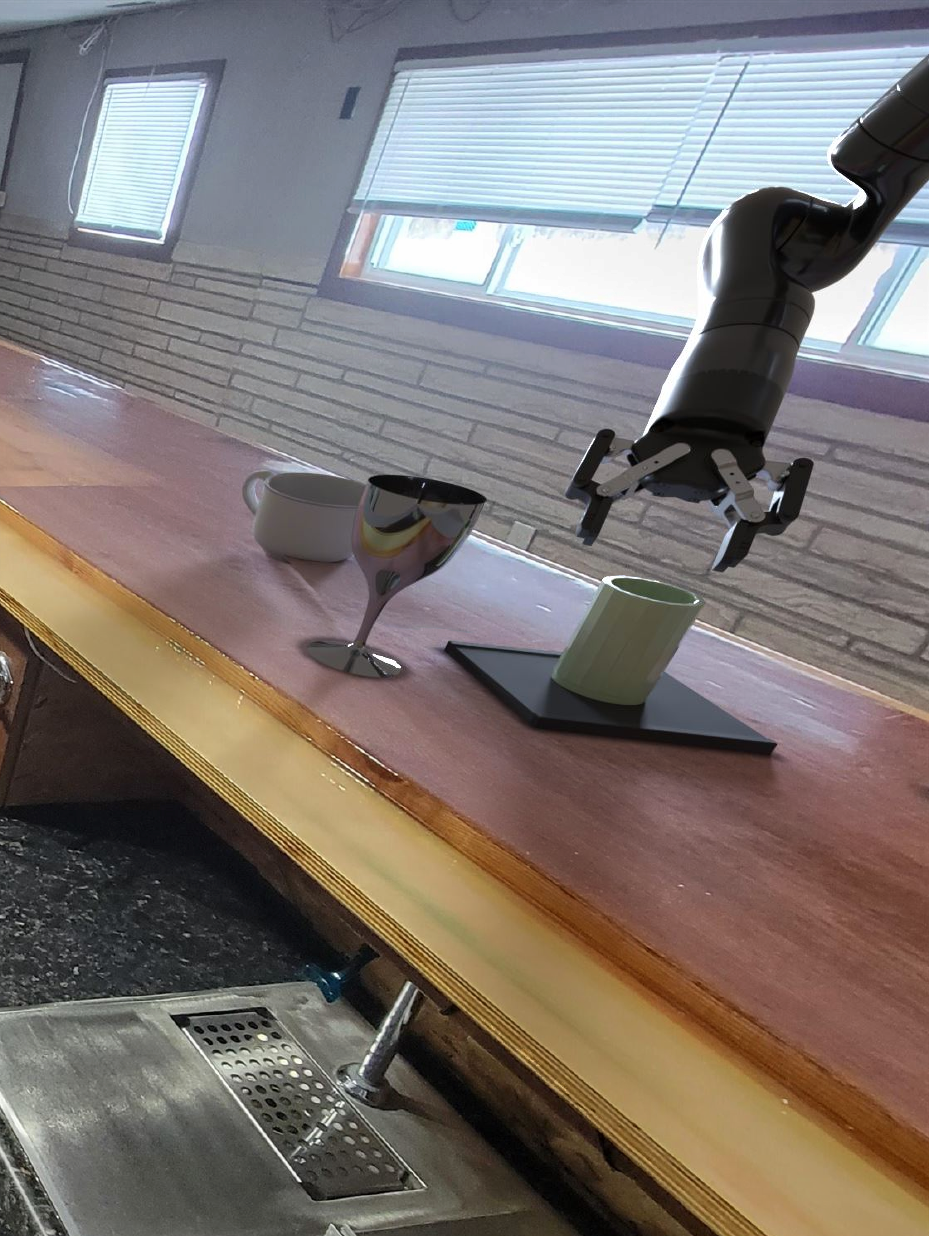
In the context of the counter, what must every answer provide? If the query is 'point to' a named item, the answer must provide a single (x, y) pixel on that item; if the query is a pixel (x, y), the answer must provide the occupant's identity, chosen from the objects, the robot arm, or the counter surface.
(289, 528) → the teacup
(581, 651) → the cup
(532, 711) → the bar mat
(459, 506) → the wine glass
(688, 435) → the robot arm
